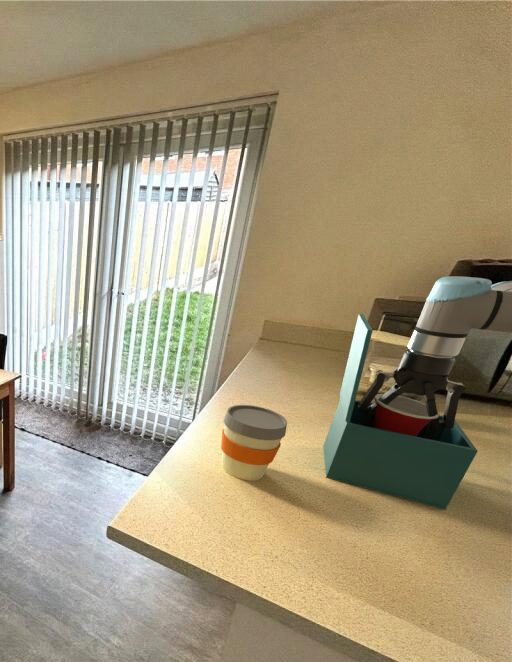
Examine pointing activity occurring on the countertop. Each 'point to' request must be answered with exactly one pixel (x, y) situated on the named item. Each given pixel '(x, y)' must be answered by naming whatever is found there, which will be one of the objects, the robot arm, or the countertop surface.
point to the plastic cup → (402, 415)
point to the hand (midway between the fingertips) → (389, 444)
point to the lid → (355, 365)
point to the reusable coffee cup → (250, 440)
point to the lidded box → (397, 459)
